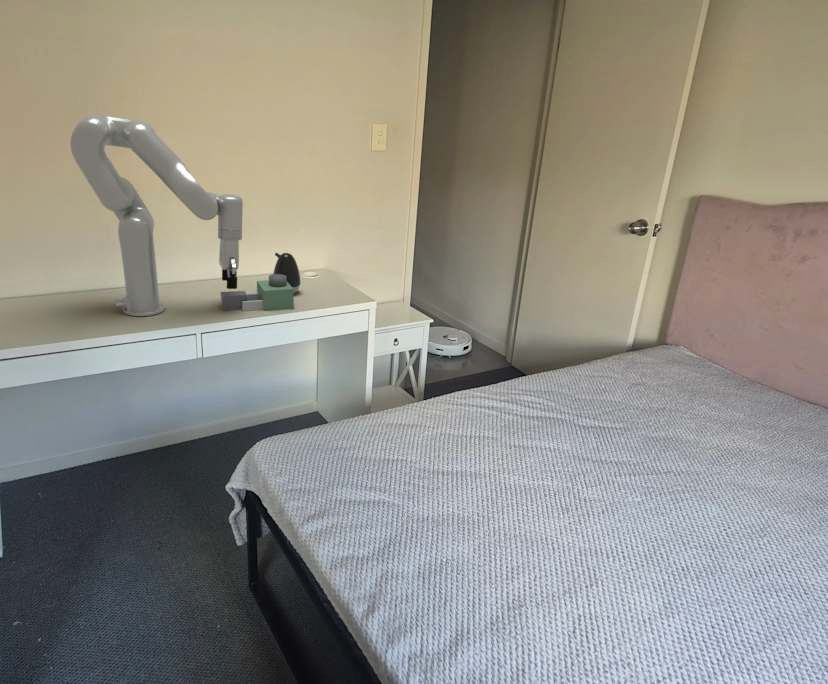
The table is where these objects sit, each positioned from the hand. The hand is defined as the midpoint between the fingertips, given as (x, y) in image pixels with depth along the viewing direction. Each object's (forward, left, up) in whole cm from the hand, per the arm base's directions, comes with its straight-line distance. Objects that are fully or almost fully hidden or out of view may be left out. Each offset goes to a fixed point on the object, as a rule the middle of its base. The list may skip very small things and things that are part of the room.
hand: (229, 284), depth 199 cm
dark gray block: (+1, 0, -8) cm, 8 cm away
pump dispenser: (+22, +12, -8) cm, 27 cm away
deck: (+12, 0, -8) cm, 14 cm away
